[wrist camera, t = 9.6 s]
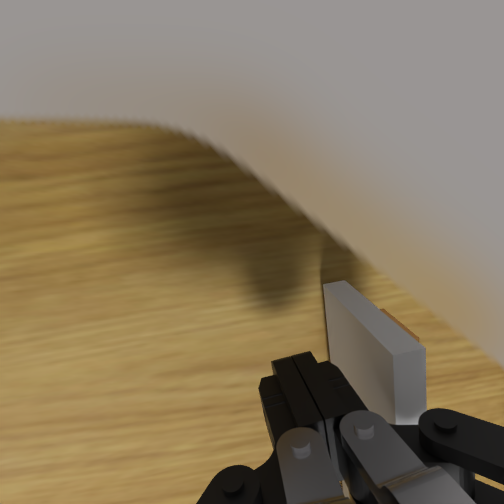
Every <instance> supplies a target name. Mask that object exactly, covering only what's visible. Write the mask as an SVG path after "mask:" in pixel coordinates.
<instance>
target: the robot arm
mask: <svg viewBox="0 0 504 504" xmlns="http://www.w3.org/2000/svg"><path fill="white" fill-rule="evenodd" d="M271 364H272V370H273V375H272V376H268V377H264V378H261V382H260V385H259V393H260V398H261V402H262V407H263V412H264V417H265V422H266V425H267V429H268V432H269V436H270V439H271V442H272V446H273V449H274V450H273V453H272V455H271V456H270V458H269V459H268V460H267V461H266V462H265V463H264V464H263V465H261V466H260V467H258V468H257V469H255V470H253V469H251V468H250V467H247V466H244V465H234V466H230V467H227V468H225V469H223V470H222V471H220V472H219V473H218V474H217V475H216V476H215V477H214V478H213V479H212V481H211V482H210V484H209V485H208V487H207V488H206V490H205V491H204V493H203V494H202V496H201V497H200V499H199V500H198V502H197V503H196V504H504V491H502V490H500V489H497V488H495V487H492V486H490V485H488V484H485V483H483V482H481V481H478V480H476V479H475V473H476V474H479V475H481V476H484V477H486V478H488V479H491V480H493V481H496V482H498V483H501V484H503V485H504V427H502V426H499V425H496V424H493V423H490V422H487V421H484V420H481V419H478V418H474V417H471V416H468V415H465V414H462V413H459V412H456V411H453V410H449V409H442V408H436V409H430V410H427V411H425V412H424V413H422V414H421V416H420V417H419V420H418V425H395V424H390V423H387V421H386V420H385V419H384V418H383V417H382V416H380V415H379V414H377V413H374V412H371V411H369V410H368V408H367V407H366V406H365V404H364V403H363V401H362V400H361V399H360V397H359V396H358V394H357V393H356V392H355V390H354V389H353V387H352V386H351V385H350V383H349V382H348V380H347V379H346V378H345V376H344V375H343V373H342V372H341V370H340V369H339V368H338V367H337V366H336V365H334V364H332V363H330V362H329V361H324V362H321V363H317V361H316V359H315V358H314V356H313V355H312V353H311V352H310V351H308V352H304V353H300V354H296V355H293V356H291V357H290V356H289V357H285V358H281V359H277V360H274V361H271ZM342 480H344V481H345V483H346V485H347V487H348V491H349V498H350V499H349V498H348V497H345V496H344V493H343V491H342V488H341V485H340V483H339V481H342Z"/></svg>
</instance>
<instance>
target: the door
mask: <svg viewBox="0 0 504 504" xmlns="http://www.w3.org/2000/svg"><path fill="white" fill-rule="evenodd" d="M323 289H324V299H325V310H326V320H327V330H328V341H329V351H330V361H331V363H332V364H334V365H336V366H337V367H338V368H339V369H340V370H341V372H342V373H343V375H344V376H345V378H346V379H347V380H348V382H349V383H350V385H351V386H352V387H353V389H354V390H355V392H356V393H357V394H358V396H359V397H360V399H361V400H362V401H363V403H364V404H365V406H366V407H367V408H368V410H369V411H371V412H374V413H377V414H379V415H380V416H382V417H383V418H384V419H385V420H386V421H387V423H390V424H395V425H418V420H419V417H420V416H421V414H422V413H424V412H425V411H427V409H426V348H425V347H424V346H422V345H421V344H420V343H419V337H417V336H416V335H415V334H414V333H413V332H411V331H410V330H409V329H408V328H407V327H405V326H404V325H403V324H402V323H400V322H399V321H398V320H397V319H396V318H394V317H393V316H392V315H391V314H389V313H388V312H387V311H386V310H385V309H379V308H377V307H376V306H375V305H374V304H373V303H371V302H370V301H369V300H368V299H367V298H365V297H364V296H363V295H362V294H361V293H360V292H358V291H357V290H356V289H355V288H354V287H352V286H351V285H350V284H349V283H348V282H347V281H345V280H342V281H337V282H332V283H327V284H323ZM342 485H343V493H344V496H345V497H348V498H349V491H348V487H347V485H346V483H345V481H344V480H342ZM349 499H350V498H349Z"/></svg>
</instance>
